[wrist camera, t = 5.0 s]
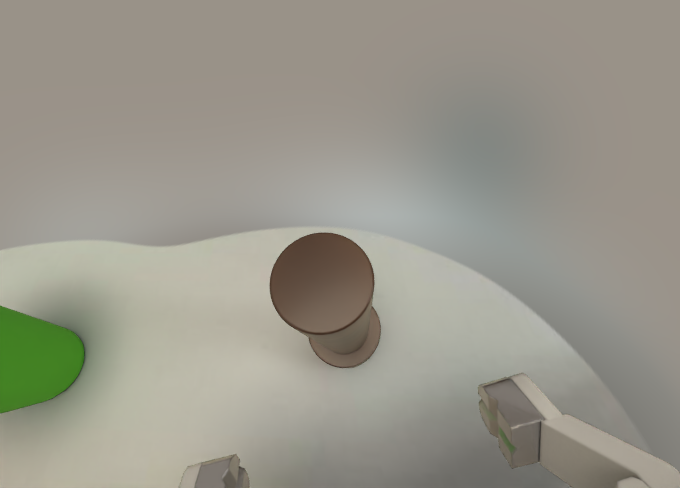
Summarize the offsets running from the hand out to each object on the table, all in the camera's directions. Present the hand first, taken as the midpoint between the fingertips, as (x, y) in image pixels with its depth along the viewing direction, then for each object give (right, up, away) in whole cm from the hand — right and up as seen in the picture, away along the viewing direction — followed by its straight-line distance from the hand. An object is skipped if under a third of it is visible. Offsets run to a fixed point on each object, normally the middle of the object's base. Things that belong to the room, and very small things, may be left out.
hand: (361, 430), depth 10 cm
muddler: (0, -1, +13) cm, 13 cm away
